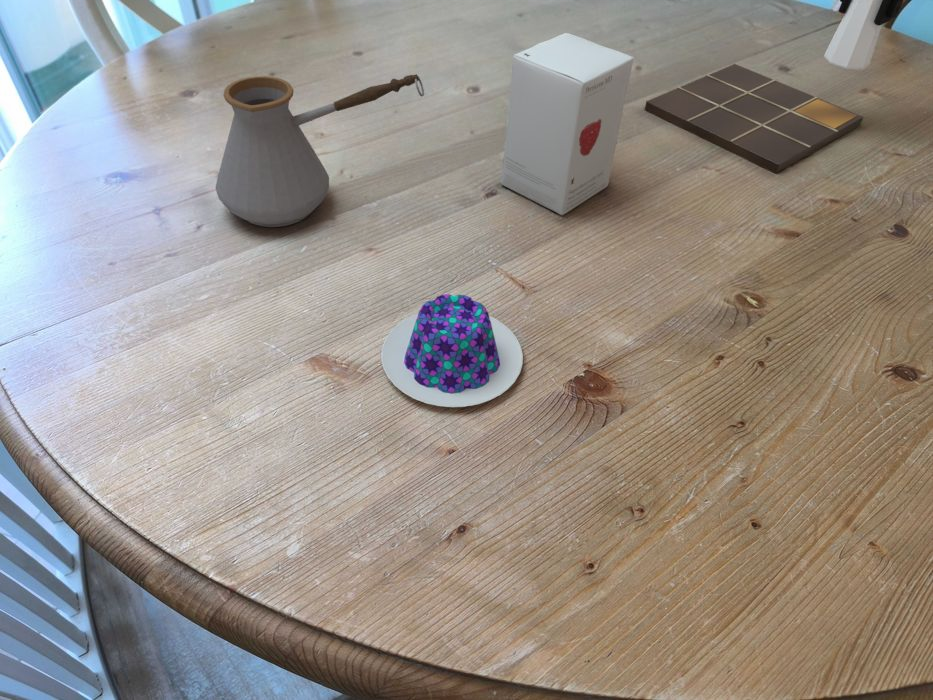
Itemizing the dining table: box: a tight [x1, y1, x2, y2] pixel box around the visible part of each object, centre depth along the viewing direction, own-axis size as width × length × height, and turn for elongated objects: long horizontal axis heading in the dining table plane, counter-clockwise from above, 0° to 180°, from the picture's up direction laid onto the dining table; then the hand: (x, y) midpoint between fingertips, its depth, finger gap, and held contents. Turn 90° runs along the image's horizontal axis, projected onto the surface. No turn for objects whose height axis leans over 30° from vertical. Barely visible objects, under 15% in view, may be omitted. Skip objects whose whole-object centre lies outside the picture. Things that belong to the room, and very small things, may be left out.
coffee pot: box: [215, 74, 425, 228], centre depth 74 cm, size 21×12×15 cm, turn 90°
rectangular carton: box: [500, 32, 634, 216], centre depth 79 cm, size 9×9×15 cm
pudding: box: [380, 293, 524, 408], centre depth 62 cm, size 12×12×5 cm
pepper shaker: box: [823, 0, 883, 71], centre depth 89 cm, size 5×5×11 cm
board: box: [644, 63, 864, 174], centre depth 98 cm, size 20×20×1 cm
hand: (864, 14), depth 89 cm, fingers closed on pepper shaker, 3 cm apart
